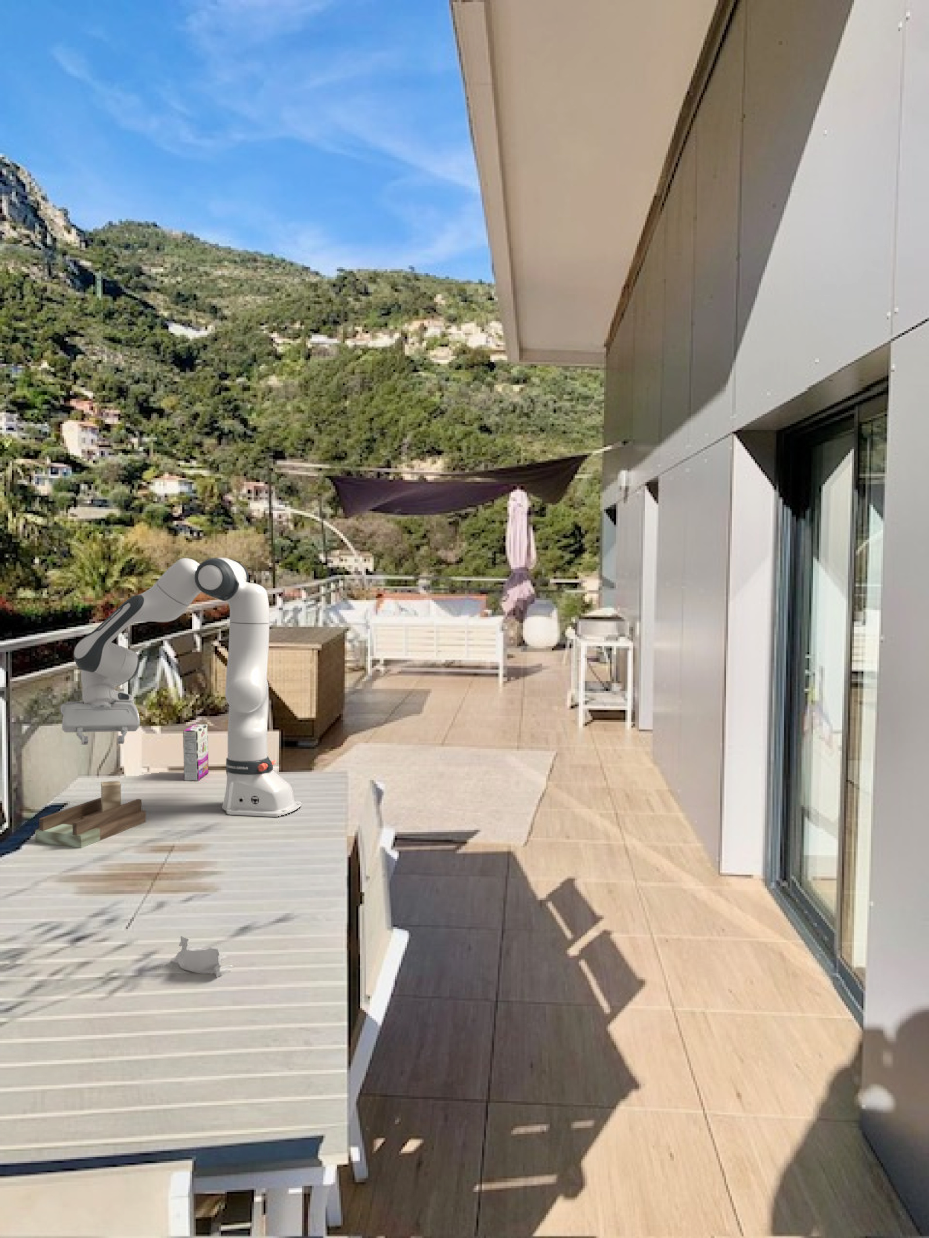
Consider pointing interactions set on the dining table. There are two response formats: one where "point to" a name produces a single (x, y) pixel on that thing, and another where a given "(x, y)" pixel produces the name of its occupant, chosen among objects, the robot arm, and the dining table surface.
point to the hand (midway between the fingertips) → (103, 743)
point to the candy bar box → (195, 752)
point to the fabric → (200, 960)
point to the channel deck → (88, 823)
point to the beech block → (110, 795)
